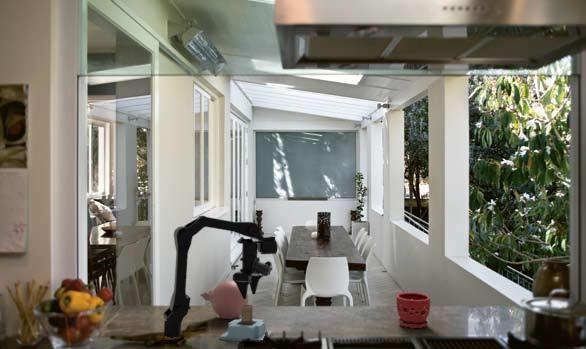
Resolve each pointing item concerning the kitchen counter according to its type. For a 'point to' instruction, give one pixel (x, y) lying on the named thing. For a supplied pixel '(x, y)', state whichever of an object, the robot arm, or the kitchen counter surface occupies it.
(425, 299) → the plant pot
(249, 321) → the walnut peg
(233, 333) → the socket block
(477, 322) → the kitchen counter surface
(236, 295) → the balloon
